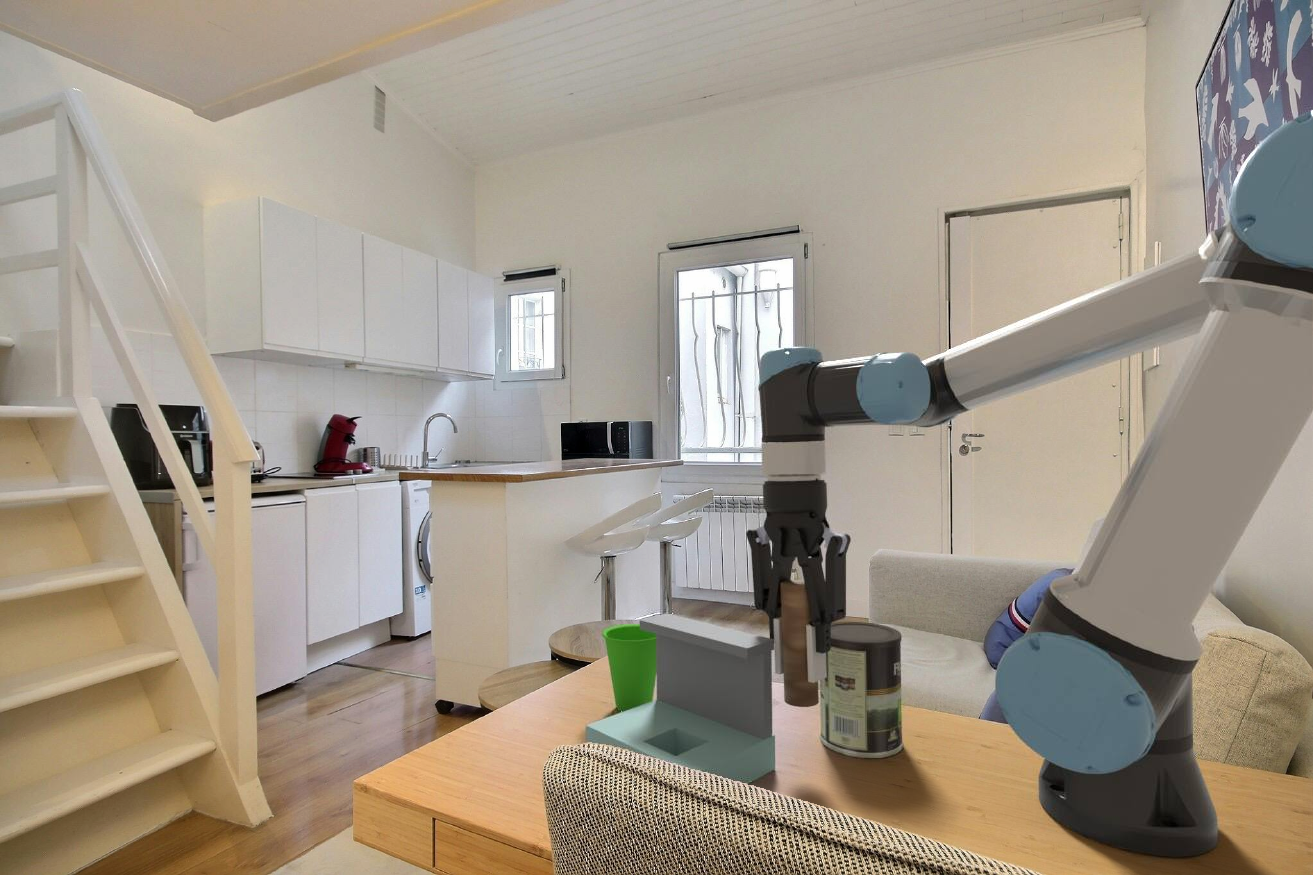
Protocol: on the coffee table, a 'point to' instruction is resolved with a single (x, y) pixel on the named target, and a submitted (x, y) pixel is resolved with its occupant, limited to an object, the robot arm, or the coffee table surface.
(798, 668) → the peg
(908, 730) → the coffee table surface
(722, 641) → the socket station
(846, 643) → the coffee can
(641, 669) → the cup
